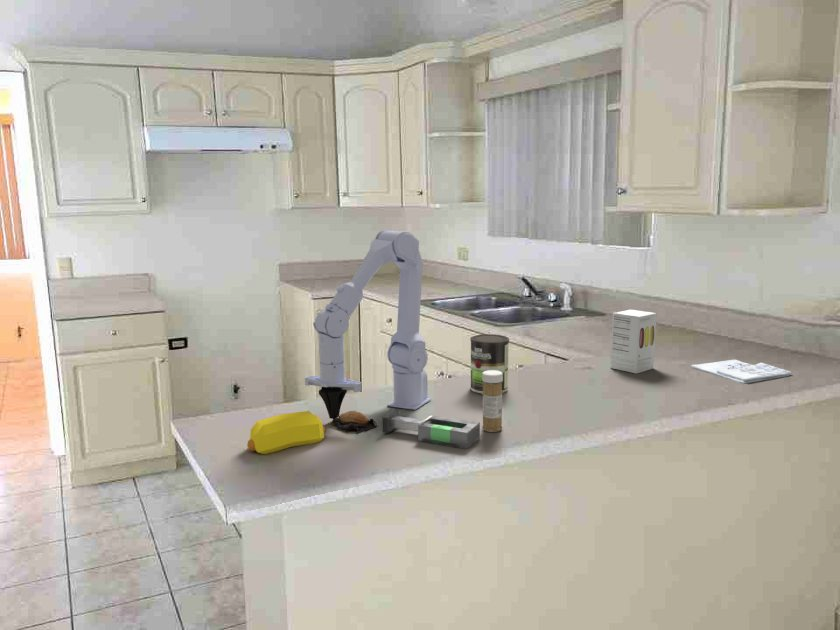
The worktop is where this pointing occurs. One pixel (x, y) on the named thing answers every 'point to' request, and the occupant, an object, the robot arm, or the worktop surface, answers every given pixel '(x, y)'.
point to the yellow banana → (285, 432)
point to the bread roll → (353, 422)
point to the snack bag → (742, 371)
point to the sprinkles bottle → (492, 400)
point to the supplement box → (633, 341)
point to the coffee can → (488, 359)
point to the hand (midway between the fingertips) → (334, 417)
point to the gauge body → (449, 432)
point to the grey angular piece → (401, 422)
